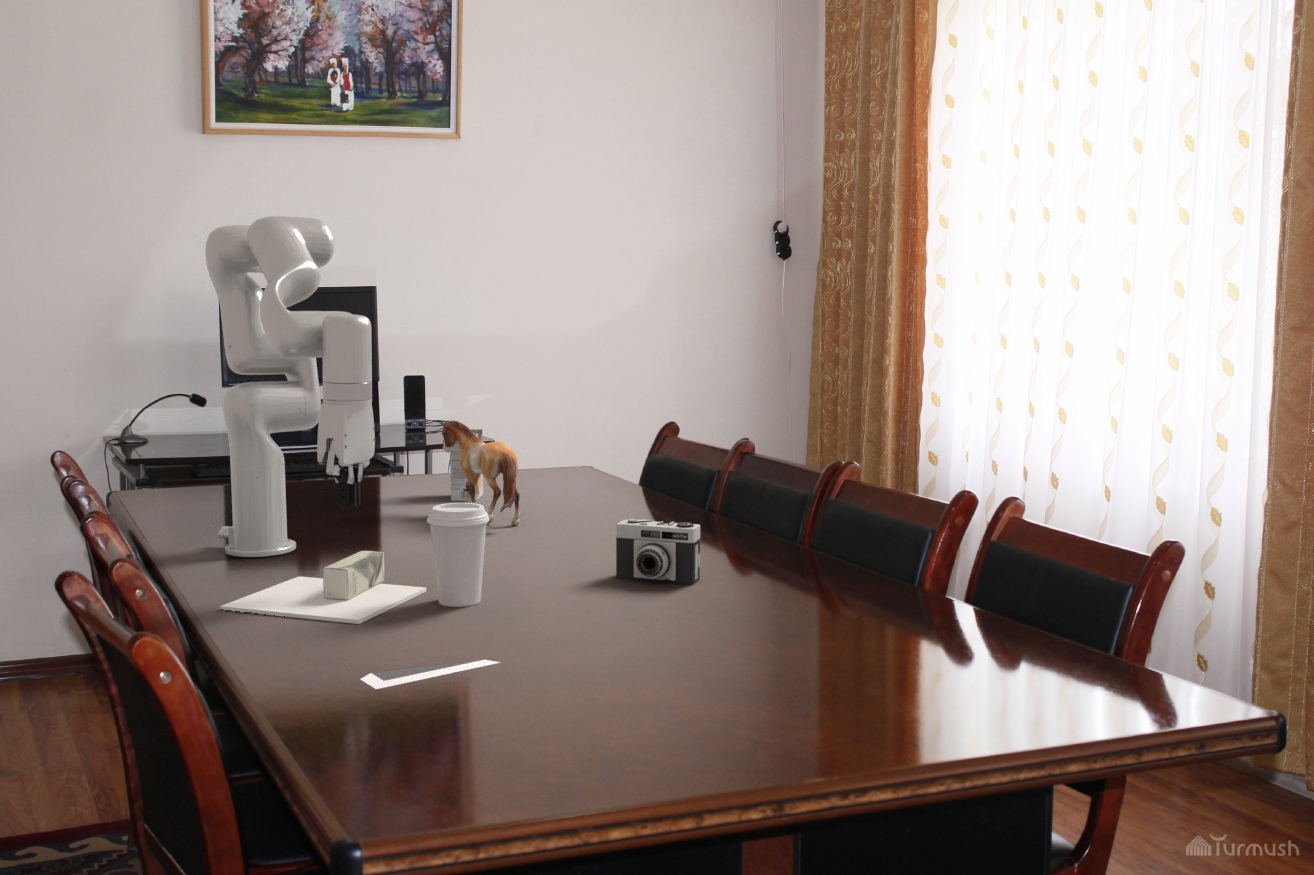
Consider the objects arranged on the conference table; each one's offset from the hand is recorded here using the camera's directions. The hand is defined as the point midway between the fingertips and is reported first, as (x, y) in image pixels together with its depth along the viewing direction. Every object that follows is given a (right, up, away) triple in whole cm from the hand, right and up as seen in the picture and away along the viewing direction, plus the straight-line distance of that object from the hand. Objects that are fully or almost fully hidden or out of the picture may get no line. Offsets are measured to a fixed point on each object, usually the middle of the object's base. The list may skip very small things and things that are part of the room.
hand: (349, 506), depth 184 cm
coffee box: (+4, -4, +89) cm, 90 cm away
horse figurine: (+11, -7, +60) cm, 62 cm away
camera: (+49, -13, +9) cm, 52 cm away
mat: (-2, -15, -4) cm, 15 cm away
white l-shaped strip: (+22, -18, -27) cm, 39 cm away
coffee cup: (+19, -15, -5) cm, 24 cm away
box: (+2, -10, +6) cm, 12 cm away
